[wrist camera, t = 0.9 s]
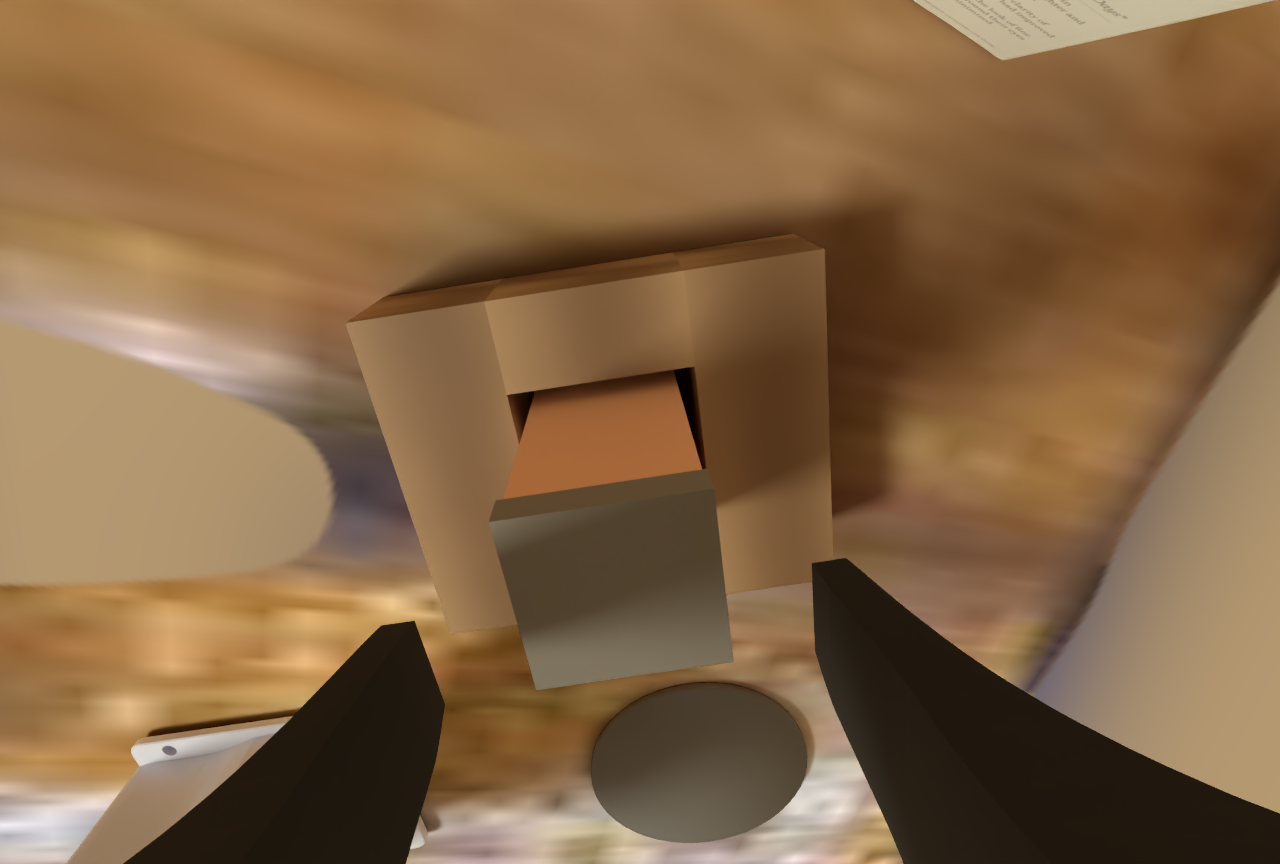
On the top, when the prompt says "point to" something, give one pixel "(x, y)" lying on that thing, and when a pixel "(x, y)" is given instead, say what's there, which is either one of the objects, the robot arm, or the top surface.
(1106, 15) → the small box
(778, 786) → the coaster
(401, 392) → the tan square socket
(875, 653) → the robot arm
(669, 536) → the plug
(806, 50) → the top surface
